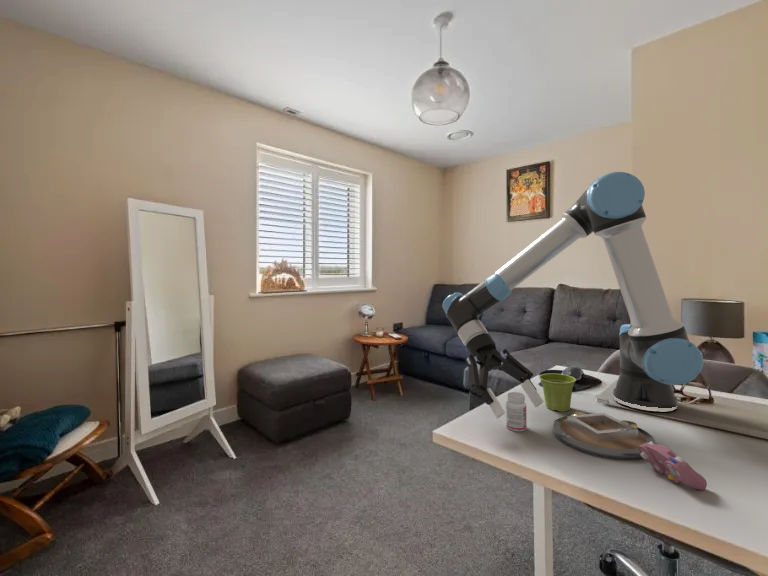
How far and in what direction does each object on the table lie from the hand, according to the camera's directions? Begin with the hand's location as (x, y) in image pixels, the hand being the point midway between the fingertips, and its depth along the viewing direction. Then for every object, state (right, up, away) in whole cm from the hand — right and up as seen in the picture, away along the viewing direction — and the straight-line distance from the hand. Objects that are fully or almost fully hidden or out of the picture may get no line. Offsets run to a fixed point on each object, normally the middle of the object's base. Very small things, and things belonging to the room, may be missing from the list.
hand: (521, 410), depth 88 cm
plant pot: (+16, -4, +14) cm, 22 cm away
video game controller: (+20, -6, -21) cm, 29 cm away
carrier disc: (+17, -5, -5) cm, 18 cm away
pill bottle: (-1, -5, +2) cm, 6 cm away
